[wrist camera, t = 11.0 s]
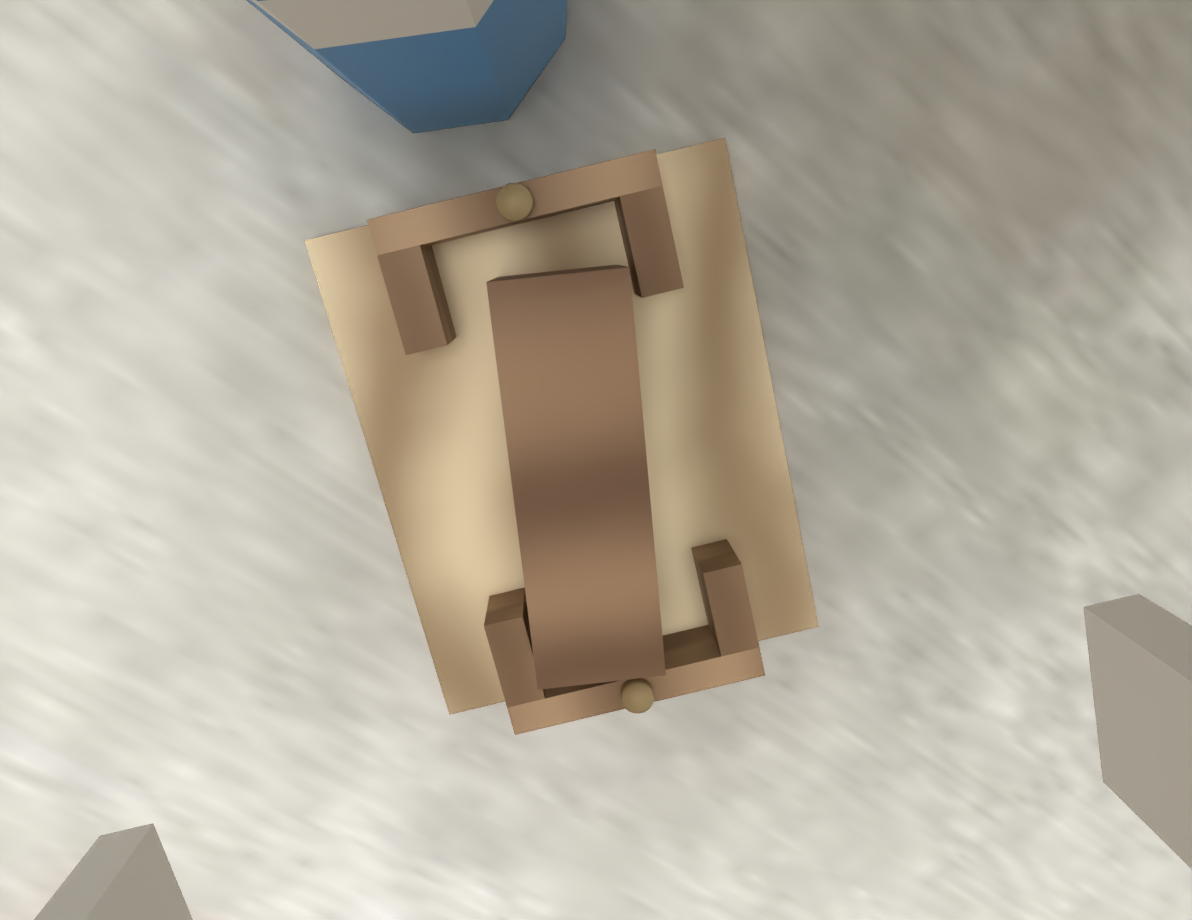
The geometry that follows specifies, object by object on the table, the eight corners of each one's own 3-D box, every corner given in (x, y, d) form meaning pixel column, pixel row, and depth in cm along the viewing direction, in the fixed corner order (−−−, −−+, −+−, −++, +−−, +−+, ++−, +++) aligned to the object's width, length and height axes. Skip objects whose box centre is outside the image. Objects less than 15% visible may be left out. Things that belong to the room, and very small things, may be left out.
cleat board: (720, 140, 34) (745, 124, 29) (811, 617, 38) (845, 665, 34) (311, 240, 34) (274, 239, 29) (452, 702, 39) (438, 762, 34)
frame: (496, 276, 33) (484, 282, 28) (618, 264, 34) (631, 267, 28) (539, 620, 37) (535, 689, 31) (649, 608, 37) (667, 675, 31)
